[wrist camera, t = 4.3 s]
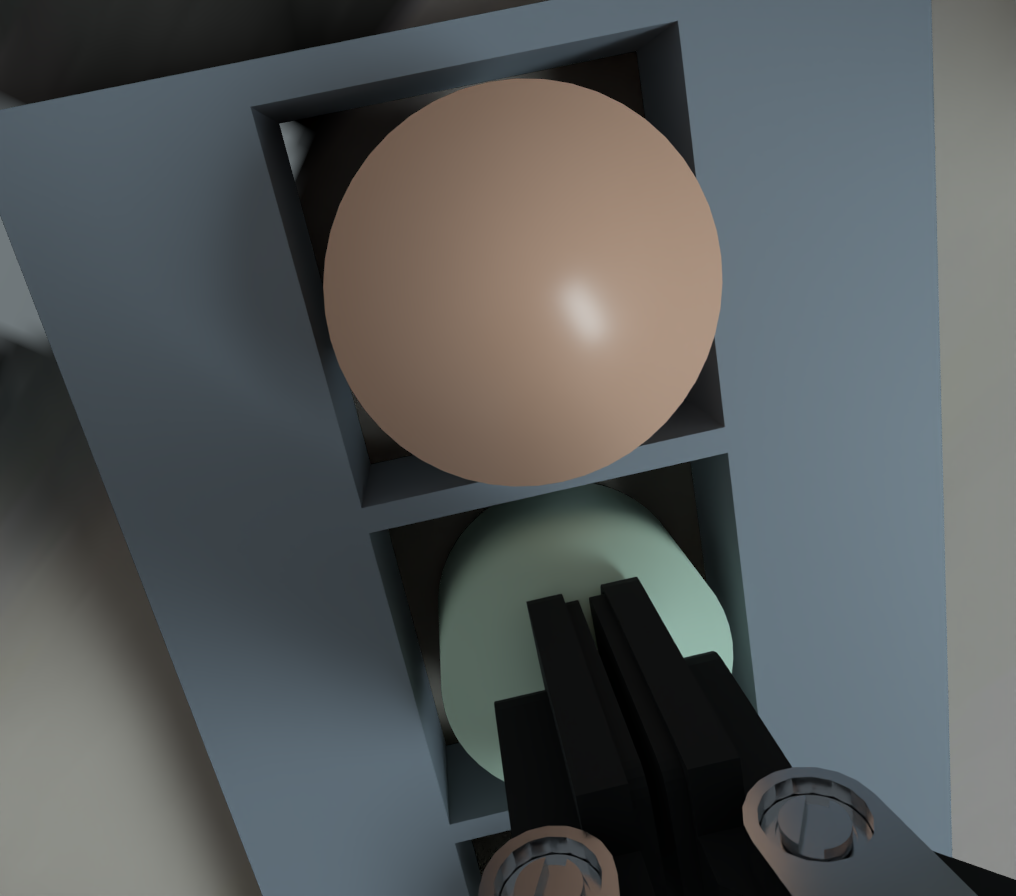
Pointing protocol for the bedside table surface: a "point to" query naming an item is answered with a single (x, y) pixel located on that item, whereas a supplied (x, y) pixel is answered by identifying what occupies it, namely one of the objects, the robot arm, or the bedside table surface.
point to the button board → (434, 493)
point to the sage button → (546, 572)
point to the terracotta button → (522, 282)
